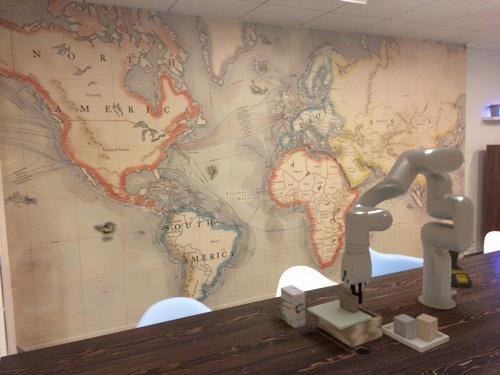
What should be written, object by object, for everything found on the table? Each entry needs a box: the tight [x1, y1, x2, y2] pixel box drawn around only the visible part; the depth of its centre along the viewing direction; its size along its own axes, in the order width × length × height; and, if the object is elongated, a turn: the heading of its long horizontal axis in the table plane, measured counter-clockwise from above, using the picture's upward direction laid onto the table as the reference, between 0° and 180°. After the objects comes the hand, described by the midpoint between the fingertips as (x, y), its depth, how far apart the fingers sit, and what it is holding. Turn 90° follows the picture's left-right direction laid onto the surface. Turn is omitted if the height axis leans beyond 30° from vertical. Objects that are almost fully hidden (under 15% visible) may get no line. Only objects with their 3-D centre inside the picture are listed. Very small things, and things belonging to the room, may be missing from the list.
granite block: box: [393, 313, 416, 340], centre depth 110 cm, size 4×4×6 cm
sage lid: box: [307, 290, 372, 330], centre depth 112 cm, size 13×16×6 cm
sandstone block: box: [415, 313, 439, 342], centre depth 110 cm, size 4×4×6 cm
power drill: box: [448, 240, 475, 288], centre depth 154 cm, size 20×9×25 cm, turn 179°
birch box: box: [317, 304, 383, 348], centre depth 115 cm, size 13×16×7 cm
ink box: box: [280, 284, 306, 329], centre depth 124 cm, size 8×5×12 cm, turn 27°
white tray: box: [382, 321, 450, 354], centre depth 111 cm, size 13×15×2 cm
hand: (357, 302), depth 116 cm, fingers closed
